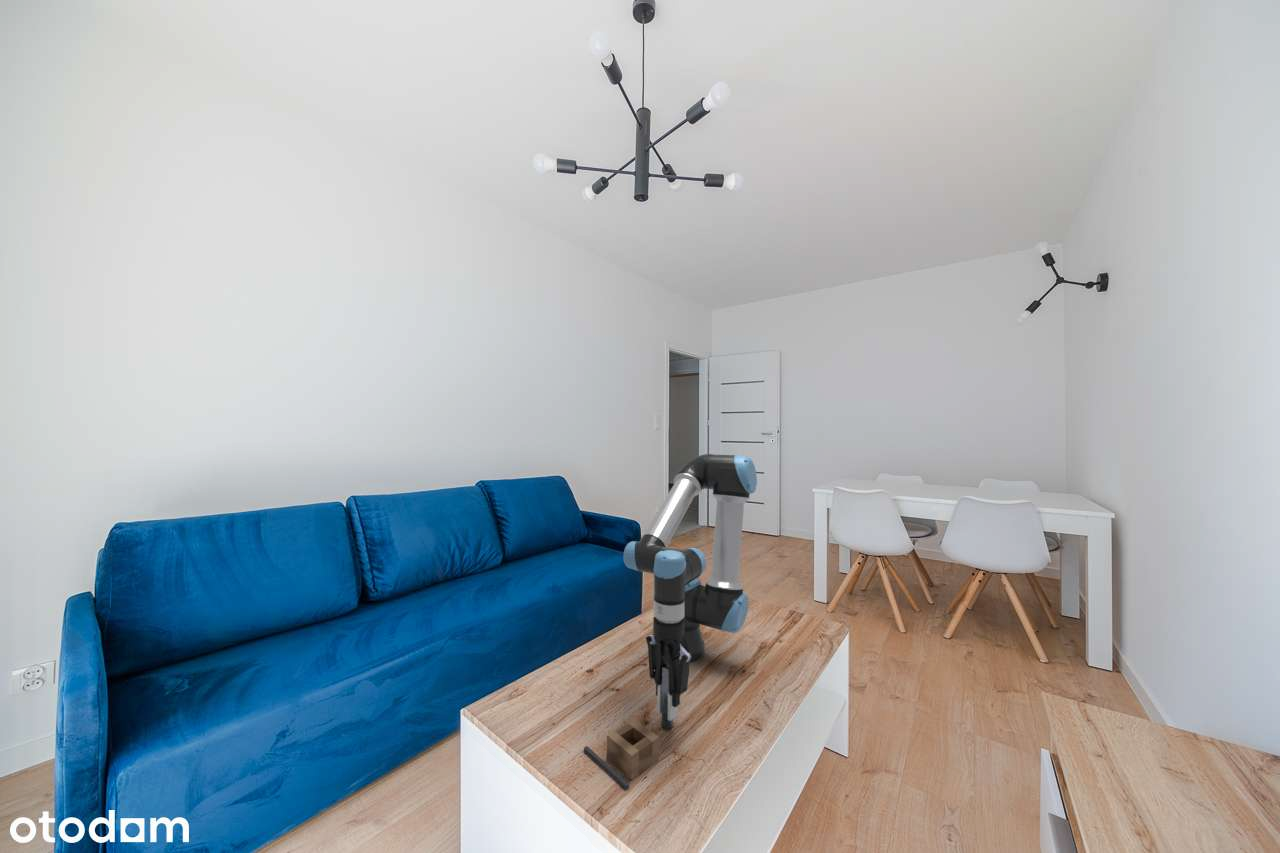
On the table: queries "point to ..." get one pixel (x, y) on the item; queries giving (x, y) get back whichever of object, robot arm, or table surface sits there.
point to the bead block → (632, 748)
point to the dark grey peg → (665, 697)
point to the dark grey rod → (606, 768)
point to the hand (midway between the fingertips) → (667, 714)
